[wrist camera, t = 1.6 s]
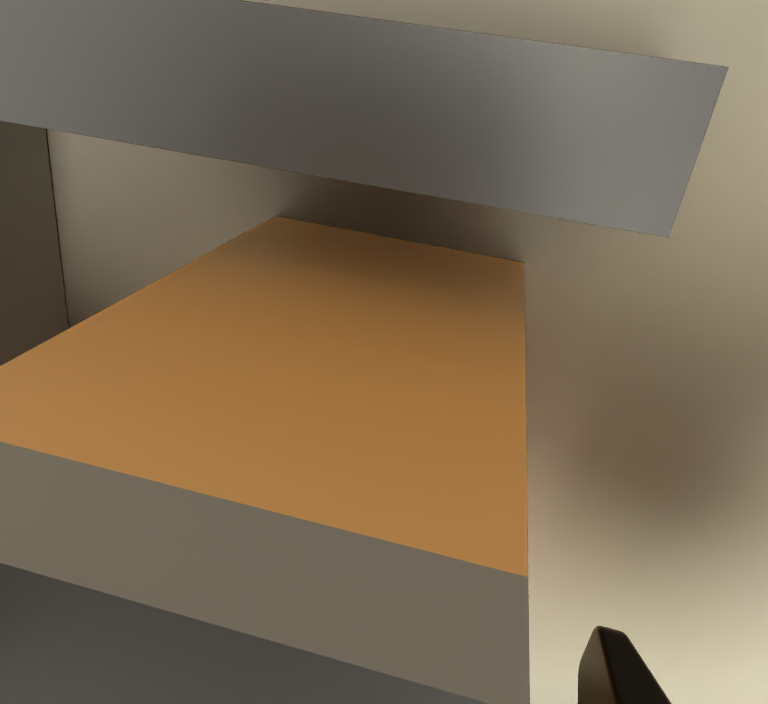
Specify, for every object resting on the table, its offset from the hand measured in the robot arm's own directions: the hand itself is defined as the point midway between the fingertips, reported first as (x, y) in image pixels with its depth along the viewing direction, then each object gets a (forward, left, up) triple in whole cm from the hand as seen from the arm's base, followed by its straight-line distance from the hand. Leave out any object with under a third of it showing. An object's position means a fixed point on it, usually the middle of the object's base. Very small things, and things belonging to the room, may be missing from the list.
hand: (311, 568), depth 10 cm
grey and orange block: (0, 0, -4) cm, 4 cm away
